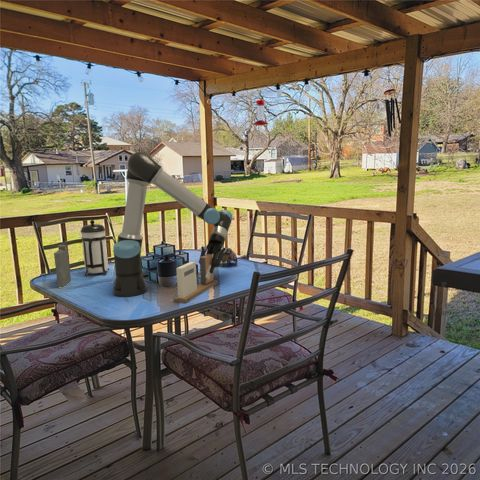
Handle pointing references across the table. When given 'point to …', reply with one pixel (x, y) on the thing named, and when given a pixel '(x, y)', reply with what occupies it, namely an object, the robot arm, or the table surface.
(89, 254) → the coffee press
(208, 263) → the orange book
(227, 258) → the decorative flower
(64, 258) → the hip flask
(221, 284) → the table surface
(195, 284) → the ticket holder
